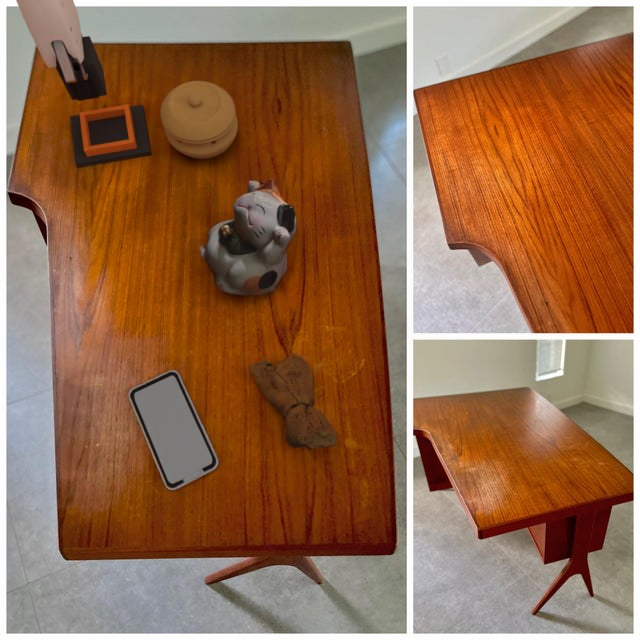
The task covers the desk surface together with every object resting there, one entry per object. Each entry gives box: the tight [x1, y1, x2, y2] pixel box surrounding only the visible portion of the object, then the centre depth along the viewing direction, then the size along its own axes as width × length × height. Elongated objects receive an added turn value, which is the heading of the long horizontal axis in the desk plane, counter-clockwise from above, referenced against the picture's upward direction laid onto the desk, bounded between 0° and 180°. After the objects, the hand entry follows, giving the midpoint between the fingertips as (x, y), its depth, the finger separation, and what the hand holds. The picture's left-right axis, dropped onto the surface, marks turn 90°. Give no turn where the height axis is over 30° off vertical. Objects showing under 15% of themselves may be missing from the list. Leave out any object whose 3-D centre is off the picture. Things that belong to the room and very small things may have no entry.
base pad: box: [69, 104, 153, 169], centre depth 88 cm, size 12×10×2 cm
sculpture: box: [248, 353, 338, 451], centre depth 69 cm, size 8×10×15 cm
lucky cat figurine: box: [199, 178, 297, 296], centre depth 76 cm, size 15×12×14 cm
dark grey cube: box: [55, 35, 108, 101], centre depth 76 cm, size 5×5×6 cm
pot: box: [160, 80, 239, 160], centre depth 85 cm, size 12×12×10 cm
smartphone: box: [128, 369, 220, 491], centre depth 71 cm, size 7×1×15 cm
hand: (86, 81), depth 78 cm, fingers closed on dark grey cube, 5 cm apart
